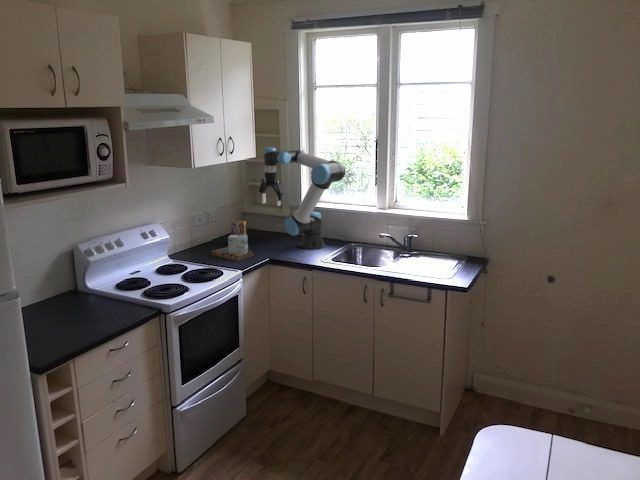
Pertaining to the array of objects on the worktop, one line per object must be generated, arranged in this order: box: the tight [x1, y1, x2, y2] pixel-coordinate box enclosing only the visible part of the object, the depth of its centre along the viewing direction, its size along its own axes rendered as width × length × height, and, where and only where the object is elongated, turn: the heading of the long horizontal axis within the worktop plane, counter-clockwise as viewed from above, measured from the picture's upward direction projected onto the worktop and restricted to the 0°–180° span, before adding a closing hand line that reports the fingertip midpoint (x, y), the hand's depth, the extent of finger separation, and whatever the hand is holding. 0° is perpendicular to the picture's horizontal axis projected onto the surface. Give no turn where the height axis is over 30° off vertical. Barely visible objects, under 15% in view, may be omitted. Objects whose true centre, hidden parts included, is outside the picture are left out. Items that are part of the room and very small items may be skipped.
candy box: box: [230, 220, 247, 235], centre depth 368 cm, size 9×4×15 cm, turn 77°
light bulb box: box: [227, 234, 249, 254], centre depth 336 cm, size 11×7×11 cm, turn 84°
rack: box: [210, 245, 256, 262], centre depth 341 cm, size 23×16×2 cm
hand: (271, 204), depth 362 cm, fingers open, 13 cm apart
